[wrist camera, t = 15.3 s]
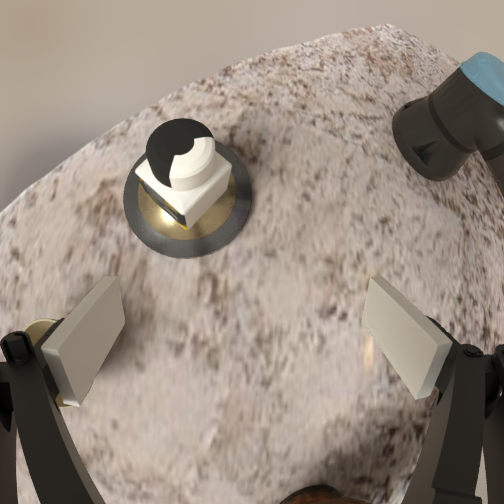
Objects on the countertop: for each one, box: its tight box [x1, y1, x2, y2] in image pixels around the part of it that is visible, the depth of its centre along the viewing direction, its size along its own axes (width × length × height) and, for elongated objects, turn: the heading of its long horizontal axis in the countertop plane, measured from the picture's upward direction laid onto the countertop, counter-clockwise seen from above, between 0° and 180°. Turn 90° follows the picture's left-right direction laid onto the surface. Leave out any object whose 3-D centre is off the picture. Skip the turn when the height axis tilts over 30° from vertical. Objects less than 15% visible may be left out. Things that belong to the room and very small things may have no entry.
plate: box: [123, 141, 252, 259], centre depth 36 cm, size 16×16×2 cm
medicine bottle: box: [135, 118, 232, 230], centre depth 29 cm, size 7×7×12 cm
